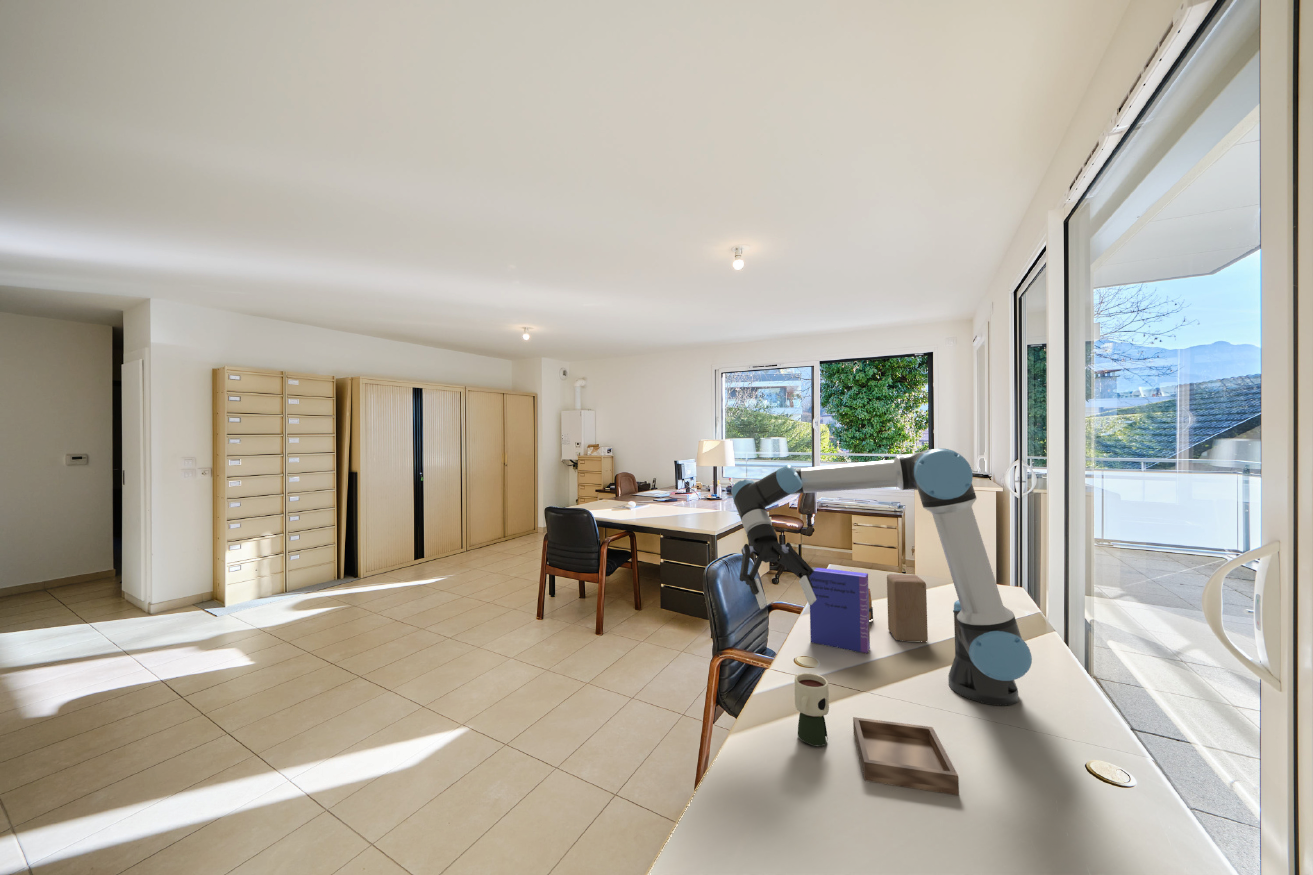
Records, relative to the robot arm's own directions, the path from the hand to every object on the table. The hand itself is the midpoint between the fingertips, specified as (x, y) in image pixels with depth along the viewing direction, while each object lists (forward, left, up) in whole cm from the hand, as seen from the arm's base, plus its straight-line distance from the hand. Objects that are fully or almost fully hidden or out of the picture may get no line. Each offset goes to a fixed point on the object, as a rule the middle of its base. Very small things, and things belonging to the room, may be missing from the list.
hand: (788, 604), depth 115 cm
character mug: (-4, +9, -27) cm, 28 cm away
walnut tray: (-21, +12, -26) cm, 36 cm away
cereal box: (-16, -46, -27) cm, 56 cm away
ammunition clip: (-26, -69, -27) cm, 79 cm away
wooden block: (-38, -59, -27) cm, 75 cm away
